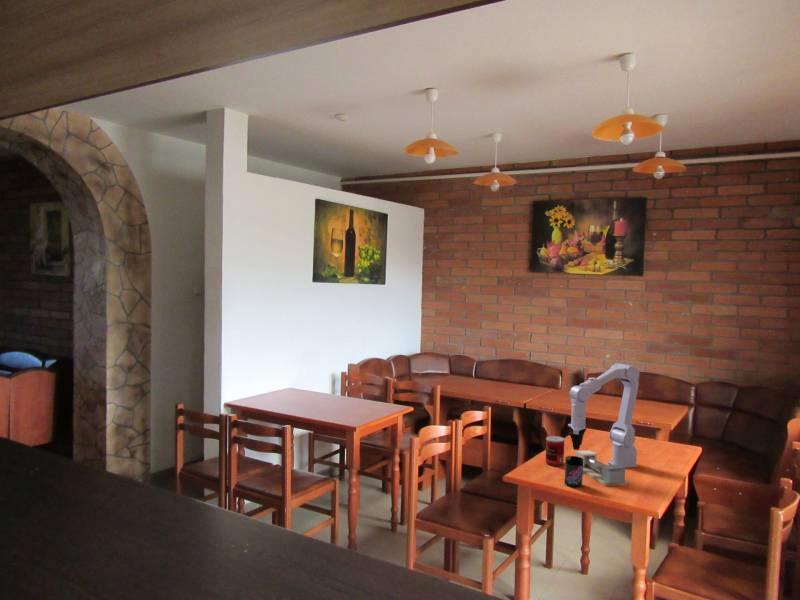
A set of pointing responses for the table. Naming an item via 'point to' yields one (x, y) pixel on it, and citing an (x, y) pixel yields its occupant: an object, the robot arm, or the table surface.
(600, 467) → the tube
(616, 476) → the socket
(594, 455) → the sleeve
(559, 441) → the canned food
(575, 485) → the supplement container
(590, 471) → the board
